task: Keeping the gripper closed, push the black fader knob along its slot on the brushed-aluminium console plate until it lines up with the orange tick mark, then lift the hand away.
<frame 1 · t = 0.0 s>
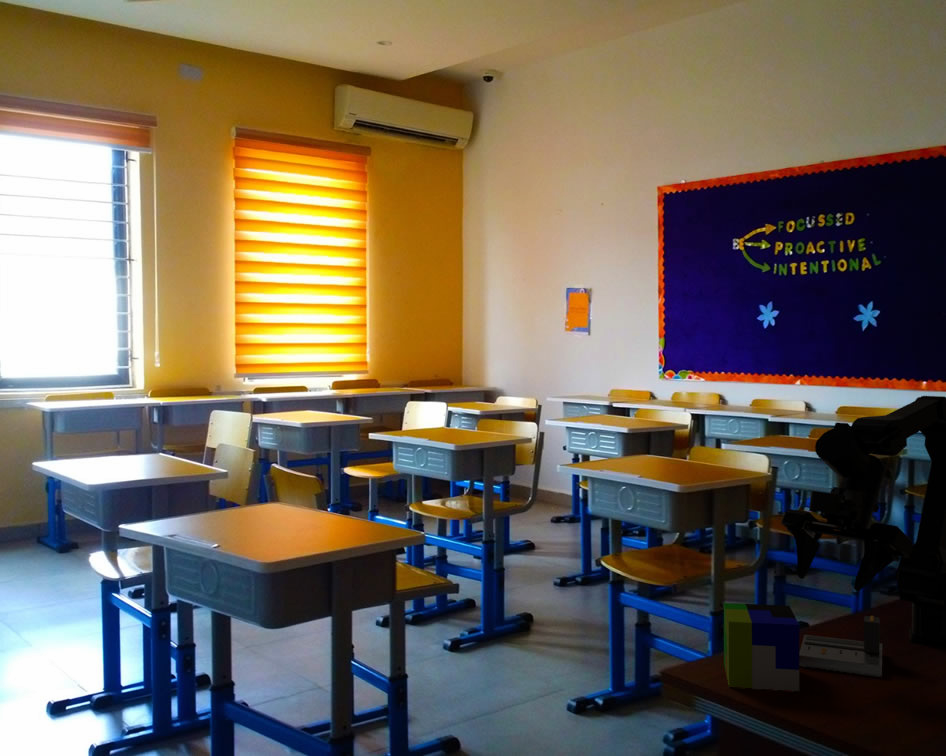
hand: (827, 583, 136), 15 cm above the table, tool tilted 35°, fingers open, 9 cm apart
puzzle toy: (760, 679, 138), on the table
console plate: (841, 660, 145), on the table
fader knob: (871, 633, 144), point 5 cm above the table, slide at 0.0 cm
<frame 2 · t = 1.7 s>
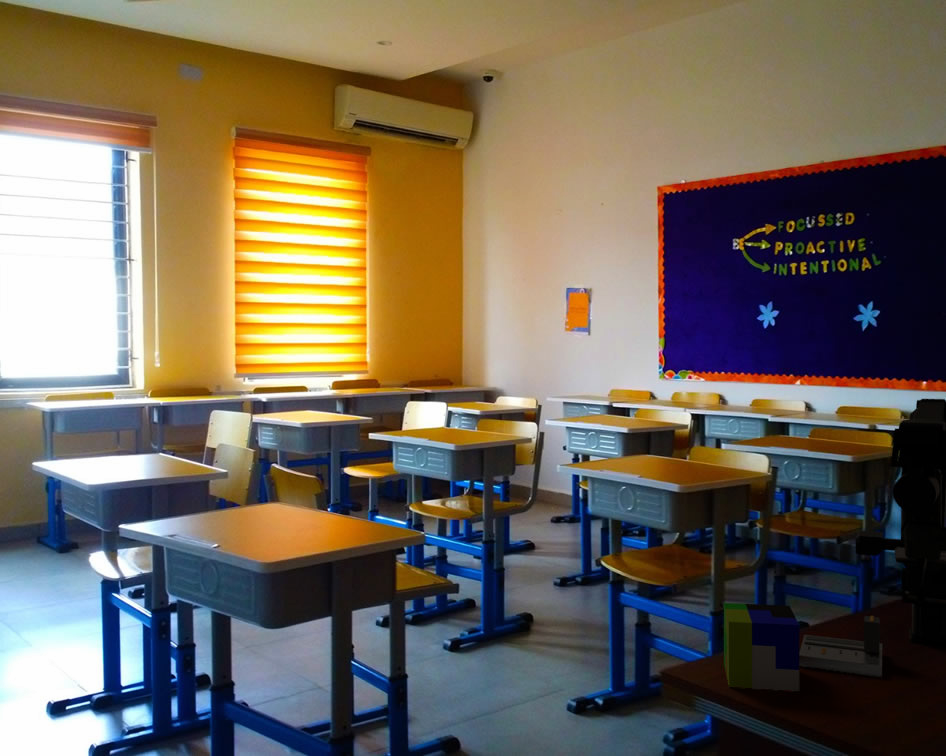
hand: (920, 601, 141), 11 cm above the table, tool pointing down, fingers closed
nothing on the table moved.
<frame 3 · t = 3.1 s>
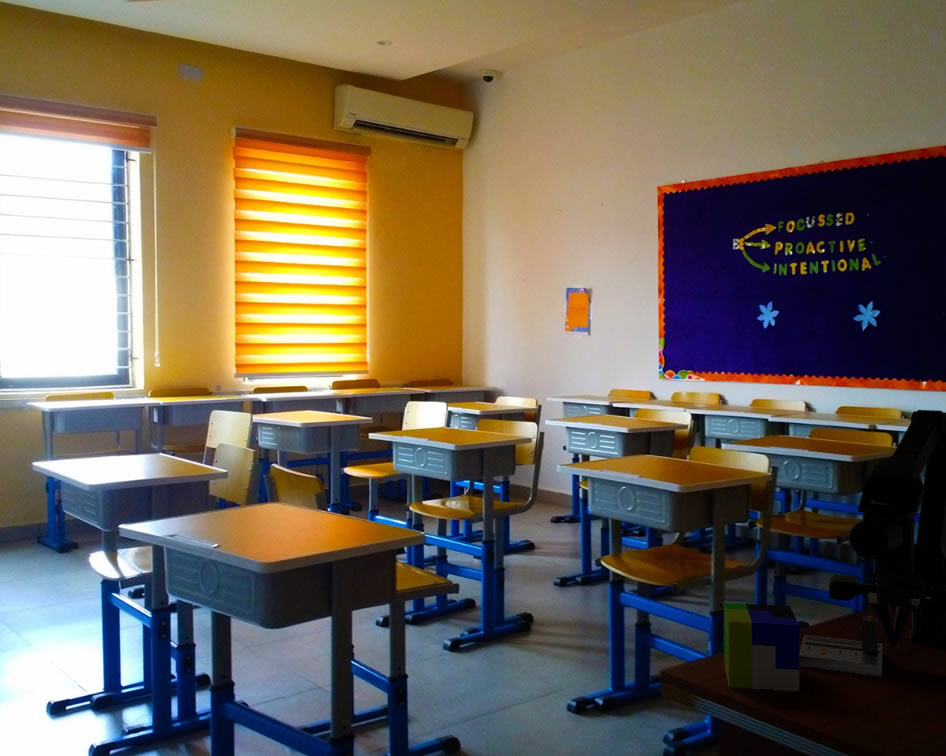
hand: (893, 646, 143), 3 cm above the table, tool pointing down, fingers closed
fader knob: (869, 633, 144), point 5 cm above the table, slide at 0.3 cm, touching gripper
everything else where it was.
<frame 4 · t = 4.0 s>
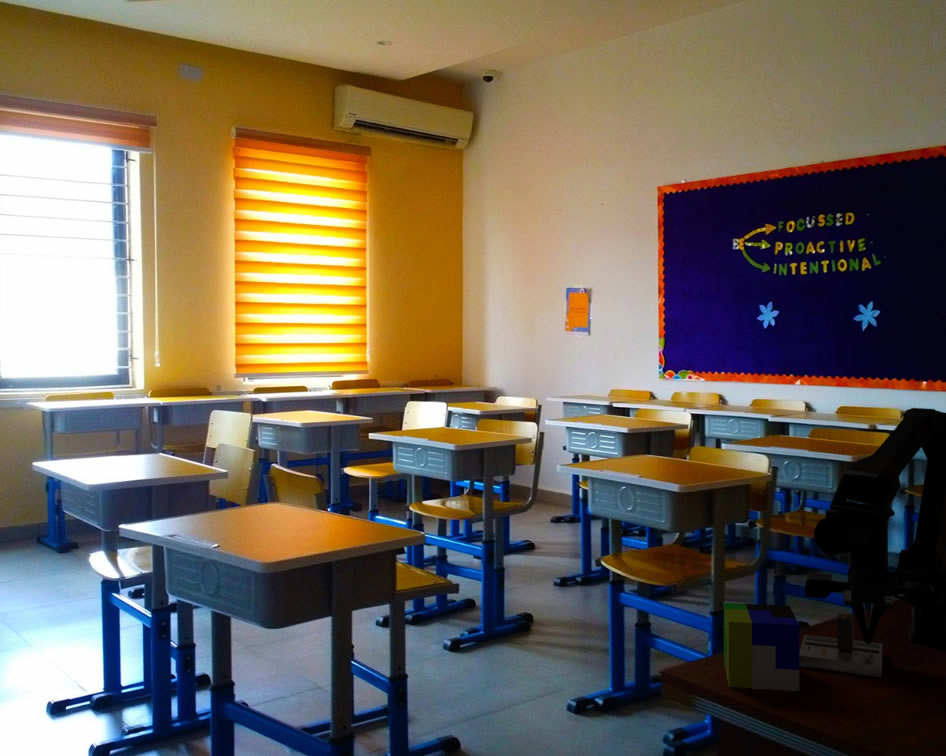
hand: (868, 643, 144), 3 cm above the table, tool pointing down, fingers closed
fader knob: (845, 630, 146), point 5 cm above the table, slide at 3.9 cm, touching gripper
everything else where it was.
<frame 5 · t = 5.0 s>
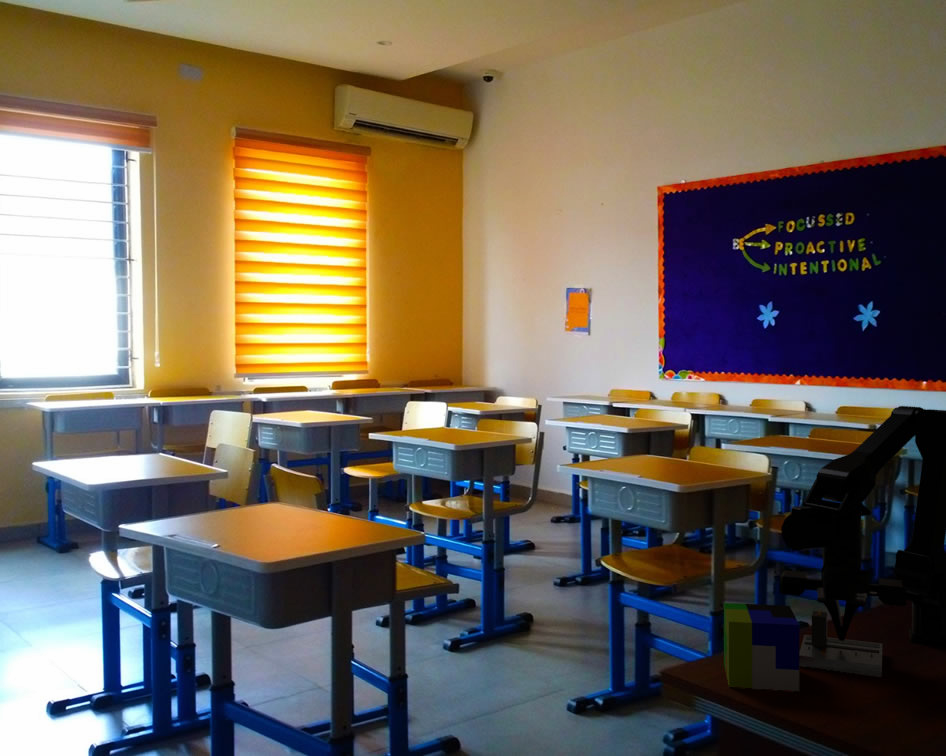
hand: (841, 640, 146), 3 cm above the table, tool pointing down, fingers closed
fader knob: (819, 627, 147), point 5 cm above the table, slide at 7.8 cm, touching gripper
everything else where it was.
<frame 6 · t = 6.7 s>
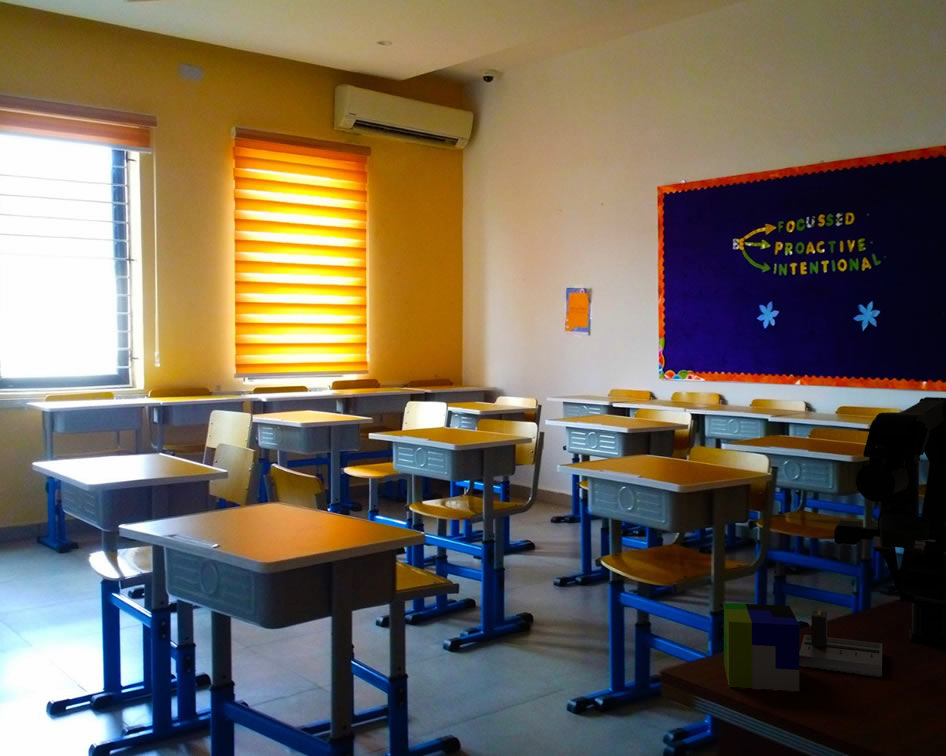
hand: (899, 589, 143), 12 cm above the table, tool pointing down, fingers closed
fader knob: (819, 627, 147), point 5 cm above the table, slide at 7.8 cm
everything else where it was.
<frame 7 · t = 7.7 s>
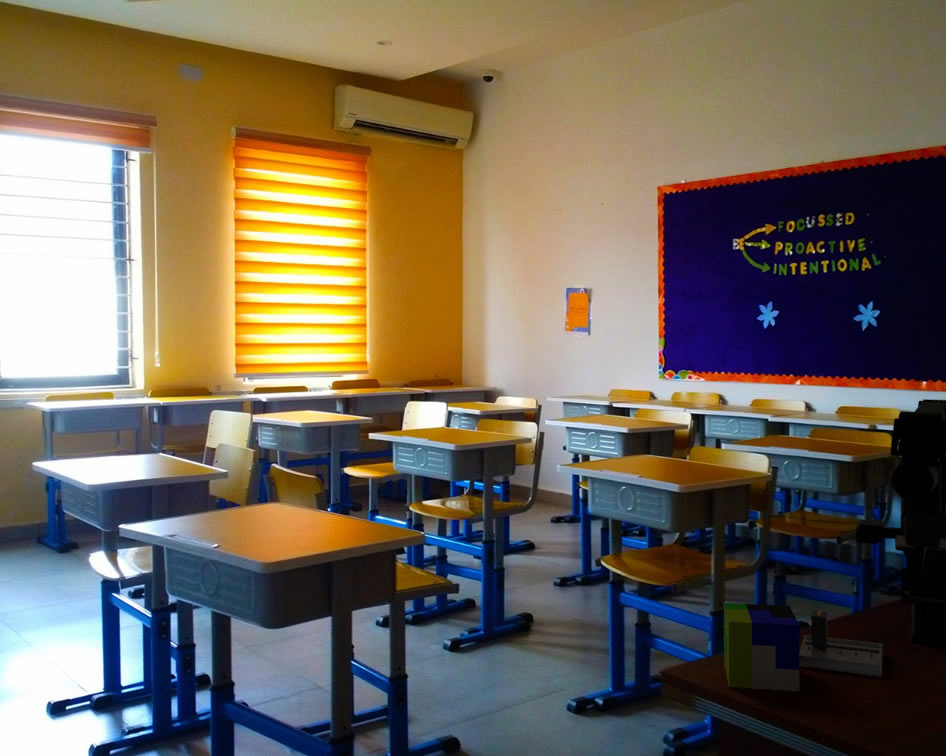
hand: (920, 589, 143), 12 cm above the table, tool pointing down, fingers closed
nothing on the table moved.
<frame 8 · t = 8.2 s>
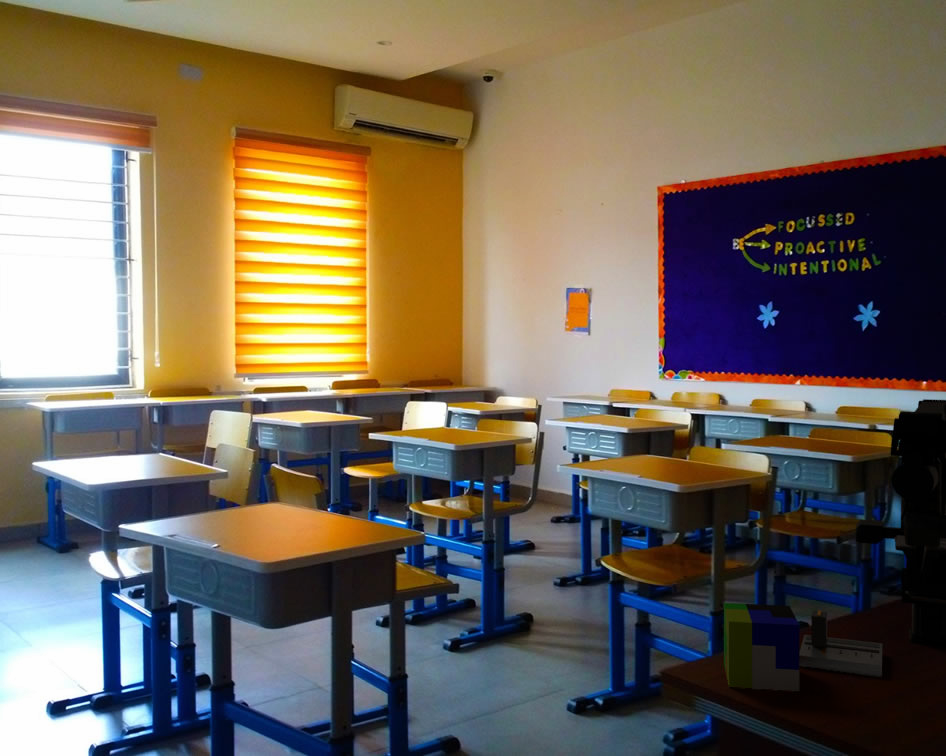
hand: (920, 589, 143), 12 cm above the table, tool pointing down, fingers closed
nothing on the table moved.
at the end: fader knob slide at 7.8 cm; fader knob touching nothing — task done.
